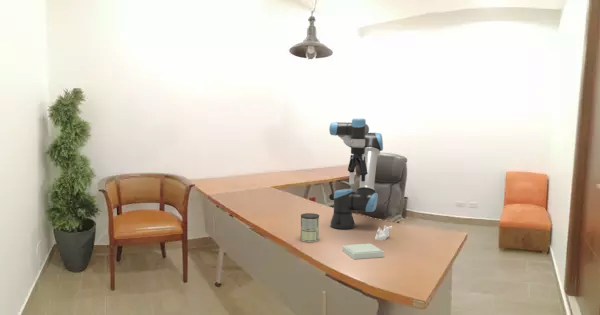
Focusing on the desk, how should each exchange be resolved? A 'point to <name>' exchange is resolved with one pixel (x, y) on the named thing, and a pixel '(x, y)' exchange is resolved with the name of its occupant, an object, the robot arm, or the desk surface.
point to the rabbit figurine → (382, 233)
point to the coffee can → (309, 227)
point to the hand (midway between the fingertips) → (356, 185)
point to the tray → (363, 251)
